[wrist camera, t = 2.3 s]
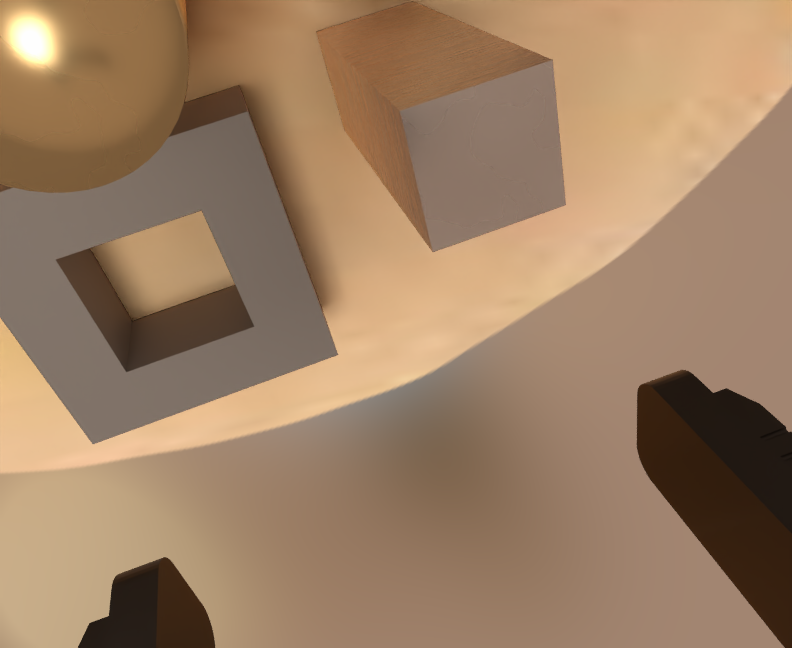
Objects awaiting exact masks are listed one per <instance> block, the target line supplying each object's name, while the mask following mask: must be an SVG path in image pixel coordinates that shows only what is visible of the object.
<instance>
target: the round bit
mask: <svg viewBox="0 0 792 648" xmlns="http://www.w3.org/2000/svg"><path fill="white" fill-rule="evenodd" d="M188 71H189V58H188V37H187V15H186V0H0V184H2V185H5V186H8V187H13V188H17V189H22V190H27V191H35V192H46V193H68V192H76V191H83V190H89V189H93V188H97V187H100V186H104V185H107V184H109V183H112V182H114V181H117V180H119V179H121V178H123V177H125V176H127V175H128V174H130V173H132V172H134V171H135V170H137V169H138V168H139V167H141V166H142V165H143V164H144V163H146V162H147V161H148V160H149V159H150V158H151V157H152V156H153V155H154V154H155V153H156V152H157V151H158V150H159V149H160V148H161V147H162V145H163V144H164V143H165V141H166V140H167V138H168V137H169V136H170V134H171V132H172V130H173V128H174V126H175V125H176V123H177V121H178V119H179V116H180V113H181V110H182V107H183V104H184V101H185V96H186V91H187V85H188Z"/></svg>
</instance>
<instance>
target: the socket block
mask: <svg viewBox="0 0 792 648" xmlns="http://www.w3.org/2000/svg"><path fill="white" fill-rule="evenodd" d="M201 210H202V212H203V214H204V217H205V219H206V221H207V223H208V225H209V228H210V230H211V232H212V234H213V236H214V239H215V241H216V243H217V245H218V247H219V250H220V252H221V254H222V256H223V259H224V261H225V263H226V265H227V267H228V270H229V272H230V274H231V276H232V278H233V281H234V283H235V285H234V286H231V287H229V288H226V289H223V290H220V291H217V292H214V293H211V294H209V295H206V296H203V297H200V298H197V299H194V300H191V301H189V302H186V303H183V304H180V305H177V306H174V307H171V308H169V309H166V310H163V311H160V312H157V313H154V314H151V315H149V316H146V317H143V318H140V319H137V320H134V321H132V320H131V318H130V316H129V315H128V313H127V311H126V310H125V308H124V306H123V304H122V303H121V301H120V299H119V298H118V296H117V294H116V292H115V291H114V289H113V287H112V286H111V284H110V282H109V281H108V279H107V277H106V275H105V274H104V272H103V270H102V269H101V267H100V265H99V264H98V262H97V260H96V258H95V257H94V255H93V253H92V252H91V250H90V248H92V247H95V246H97V245H100V244H103V243H106V242H109V241H112V240H115V239H118V238H121V237H124V236H127V235H130V234H133V233H136V232H139V231H142V230H145V229H148V228H151V227H154V226H157V225H160V224H163V223H166V222H169V221H172V220H174V219H177V218H180V217H183V216H186V215H189V214H192V213H195V212H198V211H201ZM0 318H1V319H2V321H3V322H4V323H5V325H6V326H7V327H8V329H9V330H10V331H11V333H12V334H13V336H14V337H15V338H16V340H17V341H18V342H19V344H20V345H21V347H22V348H23V349H24V351H25V352H26V353H27V355H28V356H29V357H30V359H31V360H32V362H33V363H34V364H35V366H36V367H37V368H38V370H39V371H40V373H41V374H42V375H43V377H44V378H45V379H46V381H47V382H48V383H49V385H50V386H51V388H52V389H53V390H54V392H55V393H56V394H57V396H58V397H59V399H60V400H61V401H62V403H63V404H64V405H65V407H66V408H67V409H68V411H69V412H70V414H71V415H72V416H73V418H74V419H75V420H76V422H77V423H78V425H79V426H80V427H81V429H82V430H83V431H84V433H85V434H86V435H87V437H88V438H89V440H90V441H91V442H92V444H95V443H98V442H101V441H103V440H106V439H109V438H112V437H114V436H117V435H120V434H123V433H125V432H128V431H131V430H133V429H136V428H139V427H142V426H144V425H147V424H150V423H153V422H155V421H158V420H161V419H164V418H166V417H169V416H172V415H175V414H177V413H180V412H183V411H186V410H188V409H191V408H194V407H196V406H199V405H202V404H205V403H207V402H210V401H213V400H216V399H218V398H221V397H224V396H227V395H229V394H232V393H235V392H238V391H240V390H243V389H246V388H249V387H251V386H254V385H257V384H259V383H262V382H265V381H268V380H270V379H273V378H276V377H279V376H281V375H284V374H287V373H290V372H292V371H295V370H298V369H301V368H303V367H306V366H309V365H312V364H314V363H317V362H320V361H323V360H325V359H328V358H331V357H333V356H336V355H338V353H337V351H336V348H335V345H334V342H333V339H332V336H331V333H330V330H329V328H328V325H327V322H326V319H325V316H324V313H323V310H322V308H321V305H320V302H319V299H318V297H317V294H316V291H315V289H314V286H313V283H312V281H311V278H310V275H309V272H308V270H307V267H306V264H305V262H304V259H303V256H302V254H301V251H300V248H299V245H298V243H297V240H296V237H295V235H294V232H293V229H292V227H291V224H290V221H289V218H288V216H287V213H286V210H285V208H284V205H283V202H282V200H281V197H280V194H279V191H278V189H277V186H276V183H275V181H274V178H273V175H272V173H271V170H270V167H269V164H268V162H267V159H266V156H265V154H264V151H263V148H262V146H261V143H260V140H259V137H258V135H257V132H256V129H255V127H254V124H253V121H252V119H251V116H250V113H249V110H248V108H247V105H246V102H245V100H244V97H243V94H242V91H241V89H240V86H239V85H238V86H235V87H232V88H229V89H226V90H223V91H220V92H217V93H214V94H211V95H207V96H204V97H201V98H198V99H195V100H192V101H189V102H186V103H184V104H183V107H182V110H181V113H180V116H179V119H178V121H177V123H176V125H175V126H174V128H173V130H172V132H171V134H170V136H169V137H168V138H167V140H166V141H165V143H164V144H163V145H162V147H161V148H160V149H159V150H158V151H157V152H156V153H155V154H154V155H153V156H152V157H151V158H150V159H149V160H148V161H147V162H146V163H144V164H143V165H142V166H141V167H139V168H138V169H137V170H135V171H134V172H132V173H130V174H128V175H127V176H125V177H123V178H121V179H119V180H117V181H114V182H112V183H109V184H107V185H104V186H100V187H97V188H93V189H89V190H83V191H76V192H68V193H46V192H35V191H27V190H22V189H17V188H13V187H8V186H5V185H2V184H0Z"/></svg>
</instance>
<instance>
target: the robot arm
mask: <svg viewBox="0 0 792 648" xmlns="http://www.w3.org/2000/svg"><path fill="white" fill-rule="evenodd" d="M637 450H638V454H639V458H640V460H641V463H642V465H643V468H644V470H645V471H646V473H647V475H648V477H649V478H650V480H651V481H652V482H653V483H654V484H655V486H656V487H657V488H658V490H659V491H660V492H661V493H662V495H663V496H664V497H665V499H666V500H667V501H668V502H669V503H670V505H671V506H672V507H673V509H674V510H675V511H676V512H677V513H678V515H679V516H680V517H681V519H683V521H684V522H685V524H686V525H687V526H688V527H689V529H690V530H691V531H692V532H693V534H694V535H695V536H696V537H697V539H698V540H699V541H700V542H701V544H702V545H703V546H704V547H705V548H706V550H707V551H708V552H709V554H710V555H711V556H712V557H713V559H714V560H715V561H716V562H717V564H718V565H719V566H720V567H721V569H722V570H723V571H724V572H725V574H726V575H727V576H728V577H729V579H730V580H731V581H732V582H733V584H734V585H735V586H736V587H737V589H738V590H739V591H740V592H741V594H742V595H743V596H744V597H745V599H746V600H747V601H748V602H749V604H750V605H751V606H752V607H753V608H754V610H755V611H756V612H757V614H758V615H759V616H760V617H761V619H762V620H763V621H764V622H765V623H766V625H767V626H768V627H769V629H770V630H771V631H772V632H773V634H774V635H775V636H776V637H777V639H778V640H779V641H780V642H781V644H782V645H783V646H784V647H785V648H792V432H788V431H787V430H786V427H785V426H784V425H783V424H782V423H781V422H780V421H778V420H777V419H776V418H775V417H774V416H773V415H772V414H771V413H770V412H768V411H767V410H766V409H765V408H764V407H763V406H761V405H760V404H759V403H757V402H754V401H752V400H750V399H748V398H746V397H744V396H742V395H739V394H737V393H735V392H733V391H731V390H729V389H724V390H721V391H718V392H715V393H712V392H711V391H710V390H709V389H708V388H707V387H706V386H705V385H704V384H703V383H702V382H701V381H700V380H699V379H698V378H697V377H695V376H694V375H693V374H692V373H690V372H689V371H686V370H680V371H677V372H674V373H672V374H669V375H666V376H663V377H661V378H658V379H655V380H652V381H650V382H647V383H644V384H642V385H640V386H639V388H638V394H637ZM78 648H215V641H214V635H213V630H212V626H211V623H210V620H209V617H208V614H207V612H206V610H205V608H204V606H203V605H202V603H201V602H200V601H199V599H198V598H197V596H196V595H195V594H194V592H193V591H192V590H191V588H190V587H189V586H188V584H187V582H186V581H185V580H184V578H183V577H182V576H181V574H180V573H179V571H178V570H177V568H176V567H175V566H174V564H173V563H172V562H171V561H170V560H169V559H168V558H166V557H164V558H161V559H159V560H156V561H153V562H150V563H148V564H145V565H142V566H139V567H137V568H134V569H131V570H129V571H126V572H123V573H121V574H118V575H117V576H116V577H115V578H114V580H113V584H112V590H111V600H110V611H109V616H108V617H105V618H102V619H100V620H97V621H94V622H92V623H89V625H88V628H87V630H86V632H85V634H84V636H83V638H82V640H81V642H80V644H79V646H78Z"/></svg>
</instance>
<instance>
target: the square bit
mask: <svg viewBox="0 0 792 648" xmlns="http://www.w3.org/2000/svg"><path fill="white" fill-rule="evenodd" d="M316 33H317V37H318V40H319V44H320V47H321V51H322V54H323V58H324V61H325V64H326V68H327V71H328V75H329V78H330V82H331V85H332V89H333V92H334V96H335V99H336V103H337V106H338V110H339V113H340V116H341V120H342V123H343V127H344V130H345V132H346V133H347V134H348V136H349V137H350V138H351V140H352V141H353V143H354V144H355V145H356V147H357V148H358V150H359V151H360V152H361V154H362V155H363V156H364V158H365V159H366V161H367V162H368V163H369V165H370V166H371V167H372V169H373V170H374V172H375V173H376V174H377V176H378V177H379V179H380V180H381V181H382V183H383V184H384V185H385V187H386V188H387V190H388V191H389V192H390V194H391V195H392V196H393V198H394V199H395V201H396V202H397V203H398V205H399V206H400V208H401V209H402V210H403V212H404V213H405V214H406V216H407V217H408V219H409V220H410V221H411V223H412V224H413V225H414V227H415V228H416V230H417V231H418V232H419V234H420V235H421V237H422V238H423V239H424V241H425V242H426V243H427V245H428V246H429V248H430V249H431V250H432V252H435V251H438V250H440V249H443V248H446V247H449V246H452V245H455V244H457V243H460V242H463V241H466V240H469V239H471V238H474V237H477V236H480V235H483V234H486V233H488V232H491V231H494V230H497V229H500V228H502V227H505V226H508V225H511V224H514V223H517V222H519V221H522V220H525V219H528V218H531V217H533V216H536V215H539V214H542V213H545V212H547V211H550V210H553V209H556V208H559V207H562V206H564V205H566V202H565V191H564V180H563V169H562V158H561V147H560V136H559V125H558V114H557V103H556V92H555V81H554V70H553V60H551V59H549V58H547V57H544V56H542V55H540V54H537V53H535V52H532V51H530V50H528V49H525V48H523V47H520V46H518V45H516V44H513V43H511V42H509V41H506V40H504V39H501V38H499V37H497V36H494V35H492V34H489V33H487V32H485V31H482V30H480V29H478V28H475V27H473V26H470V25H468V24H466V23H463V22H461V21H458V20H456V19H454V18H451V17H449V16H447V15H444V14H442V13H439V12H437V11H435V10H432V9H430V8H428V7H425V6H423V5H420V4H418V3H416V2H413V1H411V2H408V3H405V4H402V5H399V6H395V7H392V8H389V9H386V10H383V11H380V12H377V13H373V14H370V15H367V16H364V17H361V18H358V19H355V20H351V21H348V22H345V23H342V24H339V25H336V26H332V27H329V28H326V29H323V30H320V31H317V32H316Z"/></svg>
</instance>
